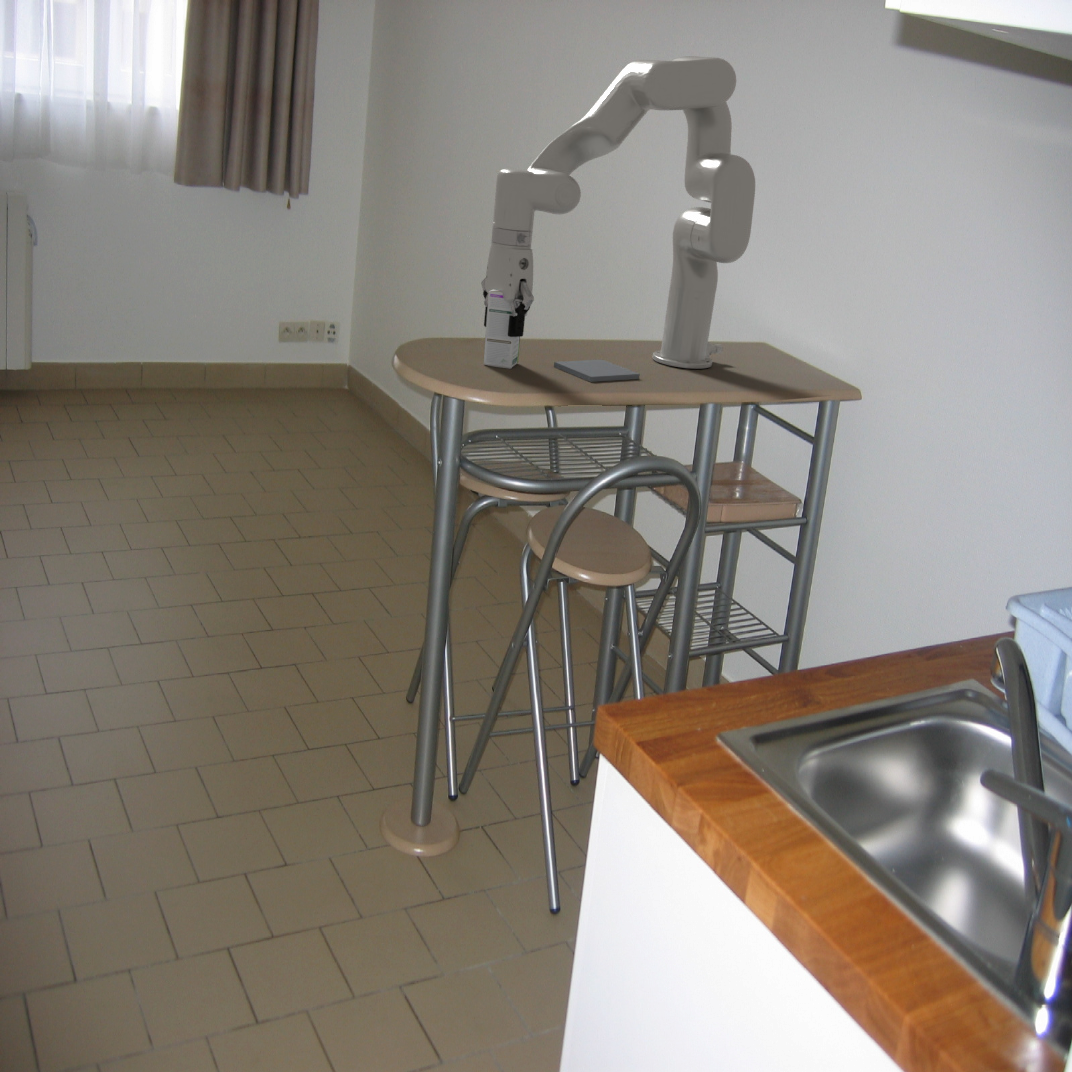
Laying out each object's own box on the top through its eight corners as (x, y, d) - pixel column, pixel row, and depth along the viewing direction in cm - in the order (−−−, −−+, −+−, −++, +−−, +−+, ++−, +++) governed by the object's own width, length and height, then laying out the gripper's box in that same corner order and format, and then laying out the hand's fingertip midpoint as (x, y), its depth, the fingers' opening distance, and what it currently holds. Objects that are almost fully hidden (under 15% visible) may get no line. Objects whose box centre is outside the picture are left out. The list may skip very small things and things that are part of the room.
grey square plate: (601, 364, 230) (602, 359, 230) (639, 378, 221) (639, 373, 221) (553, 366, 223) (554, 361, 223) (590, 382, 214) (590, 376, 214)
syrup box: (511, 369, 218) (519, 293, 212) (481, 364, 218) (488, 289, 213) (518, 363, 223) (525, 289, 218) (489, 359, 224) (495, 285, 218)
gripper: (554, 246, 208) (544, 341, 214) (503, 231, 221) (495, 321, 227) (520, 245, 203) (511, 342, 210) (470, 230, 216) (463, 322, 223)
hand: (503, 331), depth 218 cm, fingers closed on syrup box, 7 cm apart
